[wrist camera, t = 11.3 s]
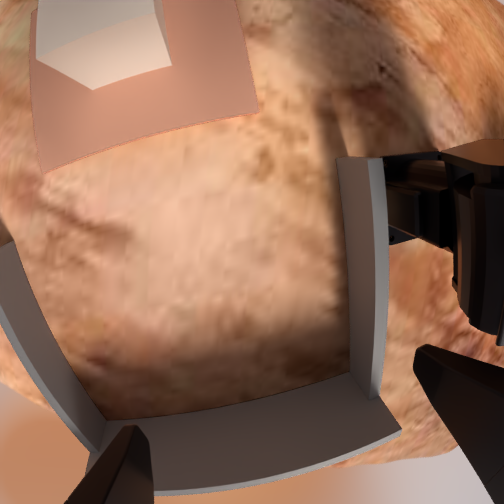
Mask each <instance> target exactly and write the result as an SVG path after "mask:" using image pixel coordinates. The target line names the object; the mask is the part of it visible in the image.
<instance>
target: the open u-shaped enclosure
mask: <svg viewBox="0 0 504 504" xmlns="http://www.w3.org/2000/svg"><path fill="white" fill-rule="evenodd" d="M336 164H337V171H338V178H339V186H340V194H341V202H342V211H343V221H344V231H345V243H346V256H347V271H348V290H349V320H350V371H349V372H347V373H344V374H341V375H338V376H335V377H333V378H330V379H327V380H324V381H320V382H317V383H314V384H311V385H308V386H304V387H301V388H298V389H294V390H291V391H287V392H284V393H280V394H276V395H272V396H268V397H264V398H260V399H256V400H252V401H248V402H243V403H239V404H234V405H229V406H224V407H219V408H214V409H208V410H202V411H196V412H190V413H183V414H176V415H169V416H160V417H151V418H141V419H129V420H113V421H106V419H105V418H104V417H103V415H102V414H101V413H100V411H99V410H98V408H97V407H96V406H95V404H94V403H93V401H92V400H91V398H90V397H89V395H88V394H87V392H86V391H85V389H84V388H83V386H82V385H81V383H80V382H79V380H78V378H77V377H76V375H75V374H74V372H73V370H72V369H71V367H70V365H69V364H68V362H67V360H66V358H65V357H64V355H63V353H62V351H61V350H60V348H59V346H58V344H57V342H56V340H55V338H54V337H53V335H52V333H51V331H50V329H49V327H48V325H47V323H46V321H45V318H44V316H43V314H42V312H41V310H40V308H39V306H38V303H37V301H36V299H35V296H34V294H33V292H32V289H31V287H30V284H29V282H28V279H27V277H26V274H25V272H24V269H23V266H22V263H21V261H20V258H19V255H18V252H17V249H16V246H15V243H14V241H11V242H9V243H6V244H4V245H2V246H1V247H0V324H1V326H2V328H3V330H4V332H5V334H6V336H7V338H8V340H9V341H10V343H11V345H12V347H13V349H14V350H15V352H16V354H17V356H18V357H19V359H20V361H21V362H22V364H23V366H24V367H25V369H26V370H27V372H28V373H29V375H30V377H31V378H32V380H33V381H34V383H35V384H36V386H37V387H38V389H39V390H40V391H41V393H42V394H43V396H44V397H45V398H46V400H47V401H48V403H49V404H50V405H51V407H52V408H53V409H54V411H55V412H56V413H57V414H58V416H59V417H60V418H61V419H62V421H63V422H64V423H65V424H66V426H67V427H68V428H69V429H70V430H71V431H72V433H73V434H74V435H75V436H76V437H77V438H78V440H79V441H80V442H81V443H82V444H83V445H84V446H85V447H86V448H87V449H88V451H89V452H90V455H89V459H88V463H87V468H86V472H85V475H86V474H87V473H88V471H89V470H90V469H91V467H92V466H93V465H94V463H95V462H96V461H97V459H98V458H99V457H100V456H101V454H102V453H103V452H104V450H105V449H106V448H107V446H108V445H109V444H110V442H111V441H112V440H113V439H114V437H115V436H116V435H117V433H118V432H119V431H120V429H121V428H122V427H123V426H124V425H127V424H136V425H138V426H139V427H140V429H141V430H142V432H143V433H144V434H145V436H146V437H147V438H148V440H149V444H150V454H151V464H152V472H153V481H154V496H175V495H189V494H202V493H211V492H219V491H226V490H233V489H239V488H245V487H250V486H255V485H260V484H265V483H269V482H274V481H278V480H282V479H286V478H290V477H293V476H297V475H301V474H304V473H308V472H311V471H314V470H317V469H320V468H324V467H326V466H329V465H332V464H335V463H338V462H341V461H343V460H346V459H349V458H351V457H354V456H356V455H359V454H361V453H364V452H366V451H369V450H371V449H373V448H375V447H378V446H380V445H382V444H384V443H386V442H389V441H391V440H393V439H395V438H397V437H399V436H400V435H401V432H402V428H401V426H400V425H399V424H398V422H397V421H396V419H395V418H394V416H393V415H392V413H391V412H390V411H389V409H388V408H387V406H386V405H385V403H384V402H383V401H382V399H381V398H380V396H379V395H380V389H381V381H382V374H383V365H384V356H385V346H386V334H387V319H388V298H389V236H388V214H387V200H386V187H385V177H384V168H383V159H382V158H372V157H351V156H349V157H341V158H336Z"/></svg>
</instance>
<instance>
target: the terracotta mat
mask: <svg viewBox="0 0 504 504" xmlns="http://www.w3.org/2000/svg"><path fill="white" fill-rule="evenodd" d="M162 5H163V12H164V19H165V25H166V32H167V38H168V44H169V50H170V56H171V62H172V65H171V66H167V67H163V68H159V69H156V70H152V71H148V72H145V73H141V74H138V75H135V76H131V77H128V78H125V79H122V80H119V81H116V82H113V83H110V84H107V85H105V86H102V87H99V88H97V89H94V90H91V89H90V88H88V87H86V86H84V85H83V84H81V83H79V82H77V81H76V80H74V79H72V78H70V77H68V76H67V75H65V74H63V73H61V72H59V71H57V70H56V69H54V68H52V67H50V66H48V65H46V64H44V63H42V62H40V61H39V60H37V59H36V27H37V12H38V9H36V10H34V11H33V12H32V14H31V27H30V90H31V104H32V114H33V123H34V131H35V138H36V145H37V151H38V157H39V162H40V167H41V172H42V174H43V173H47V172H50V171H52V170H54V169H57V168H59V167H62V166H64V165H67V164H69V163H72V162H74V161H77V160H80V159H82V158H85V157H88V156H90V155H93V154H96V153H99V152H102V151H105V150H108V149H111V148H114V147H117V146H120V145H123V144H126V143H129V142H133V141H136V140H139V139H143V138H146V137H150V136H153V135H157V134H161V133H165V132H169V131H172V130H176V129H181V128H185V127H189V126H193V125H198V124H203V123H207V122H212V121H217V120H222V119H227V118H233V117H239V116H245V115H251V114H257V113H259V112H260V111H259V106H258V101H257V96H256V91H255V86H254V81H253V77H252V72H251V67H250V63H249V58H248V53H247V49H246V44H245V40H244V36H243V31H242V27H241V23H240V18H239V14H238V10H237V6H236V2H235V0H162Z"/></svg>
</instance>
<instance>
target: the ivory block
mask: <svg viewBox="0 0 504 504" xmlns="http://www.w3.org/2000/svg"><path fill="white" fill-rule="evenodd" d="M36 59H37V60H39V61H40V62H42V63H44V64H46V65H48V66H50V67H52V68H54V69H56V70H57V71H59V72H61V73H63V74H65V75H67V76H68V77H70V78H72V79H74V80H76V81H77V82H79V83H81V84H83V85H84V86H86V87H88V88H90V89H91V90H94V89H97V88H99V87H102V86H105V85H107V84H110V83H113V82H116V81H119V80H122V79H125V78H128V77H131V76H135V75H138V74H141V73H145V72H148V71H152V70H156V69H159V68H163V67H167V66H171V65H172V62H171V56H170V50H169V44H168V38H167V32H166V25H165V19H164V12H163V5H162V0H39V1H38V12H37V27H36Z"/></svg>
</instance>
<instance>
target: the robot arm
mask: <svg viewBox="0 0 504 504" xmlns="http://www.w3.org/2000/svg"><path fill="white" fill-rule="evenodd" d="M437 156H438V159H437ZM380 158H382V159H383V168H384V177H385V187H386V200H387V214H388V236H389V237H390V236H392V238H391V240H389V245H394V244H398V243H401V242H405V241H408V240H412V239H415V238H420V239H422V240H424V241H426V242H428V243H430V244H433V245H435V246H437V247H439V248H443V249H445V250H447V251H449V252H451V253H453V264H454V276H453V277H452V286H453V288H454V289H455V291H456V292H457V298H458V301H459V305H460V308H461V309H462V310H463V312H464V313H465V314H466V315H467V317H468V318H469V323H470V325H472V326H474V327H475V328H477V329H478V330H480V331H483V332H485V333H488V334H491V335H497V339H496V345H497V346H504V139H482V140H478V141H474V142H471V143H467V144H463V145H460V146H456V147H453V148H449V149H446V150H443V151H441V152H438V151H433V152H420V153H408V154H398V155H388V156H381V157H380ZM384 161H386V166H384ZM413 371H414V373H415V375H416V377H417V379H418V380H419V382H420V384H421V386H422V388H423V390H424V391H425V393H426V395H427V397H428V399H429V401H430V403H431V404H432V406H433V407H434V409H435V410H436V412H437V413H438V415H439V416H440V418H441V419H442V421H443V422H444V424H445V425H446V427H447V428H448V430H449V431H450V433H451V434H452V436H453V437H454V439H455V440H456V442H457V443H458V445H459V446H460V448H461V449H462V451H463V452H464V454H465V455H466V457H467V459H468V460H469V462H470V463H471V465H472V467H473V468H474V470H475V472H476V473H477V475H478V476H479V478H480V480H481V481H482V483H483V485H484V487H485V488H486V490H487V492H488V494H489V495H490V497H491V499H492V500H493V502H494V504H504V368H502V367H499V366H495V365H492V364H489V363H486V362H482V361H479V360H476V359H473V358H470V357H467V356H463V355H460V354H457V353H454V352H451V351H448V350H445V349H442V348H439V347H436V346H433V345H430V344H425V345H423V346H421V347H418V348H417V349H416V352H415V357H414V363H413ZM64 504H154V481H153V472H152V464H151V454H150V444H149V440H148V438H147V437H146V436H145V434H144V433H143V432H142V430H141V429H140V427H139V426H138V425H136V424H127V425H124V426H123V427H122V428H121V429H120V431H119V432H118V433H117V435H116V436H115V437H114V439H113V440H112V441H111V442H110V444H109V445H108V446H107V448H106V449H105V450H104V452H103V453H102V454H101V456H100V457H99V458H98V459H97V461H96V462H95V463H94V465H93V466H92V467H91V469H90V470H89V471H88V473H87V474H86V475H85V477H84V478H83V479H82V481H81V482H80V483H79V484H78V486H77V487H76V488H75V489H74V491H73V492H72V493H71V495H70V496H69V497H68V500H66V501H65V502H64Z"/></svg>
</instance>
